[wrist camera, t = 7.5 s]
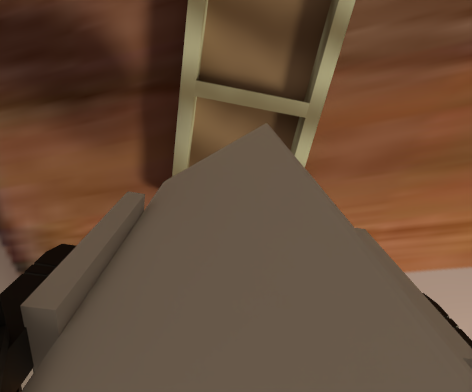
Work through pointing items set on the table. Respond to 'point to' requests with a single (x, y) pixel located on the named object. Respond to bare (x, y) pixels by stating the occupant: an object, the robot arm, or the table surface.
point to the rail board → (255, 72)
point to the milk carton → (248, 295)
